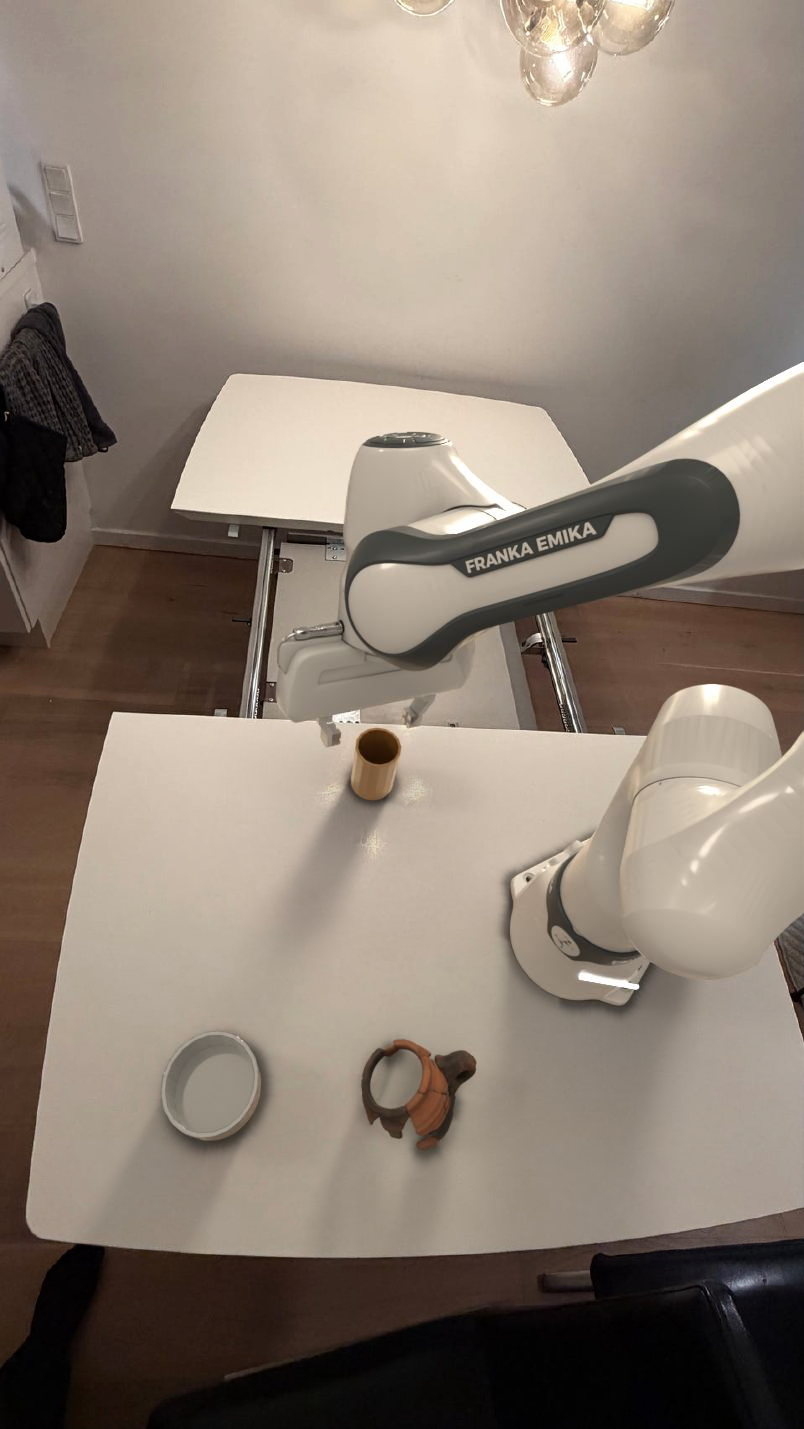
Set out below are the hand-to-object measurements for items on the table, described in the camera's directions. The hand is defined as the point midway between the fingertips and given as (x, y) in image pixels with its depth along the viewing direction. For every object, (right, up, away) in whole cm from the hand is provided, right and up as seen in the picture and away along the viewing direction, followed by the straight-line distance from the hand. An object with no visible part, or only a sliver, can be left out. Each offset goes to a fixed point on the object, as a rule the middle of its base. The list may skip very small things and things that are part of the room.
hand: (371, 733), depth 70 cm
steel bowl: (-16, -36, -2) cm, 40 cm away
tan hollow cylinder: (-1, -7, +21) cm, 22 cm away
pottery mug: (+5, -38, +1) cm, 38 cm away
